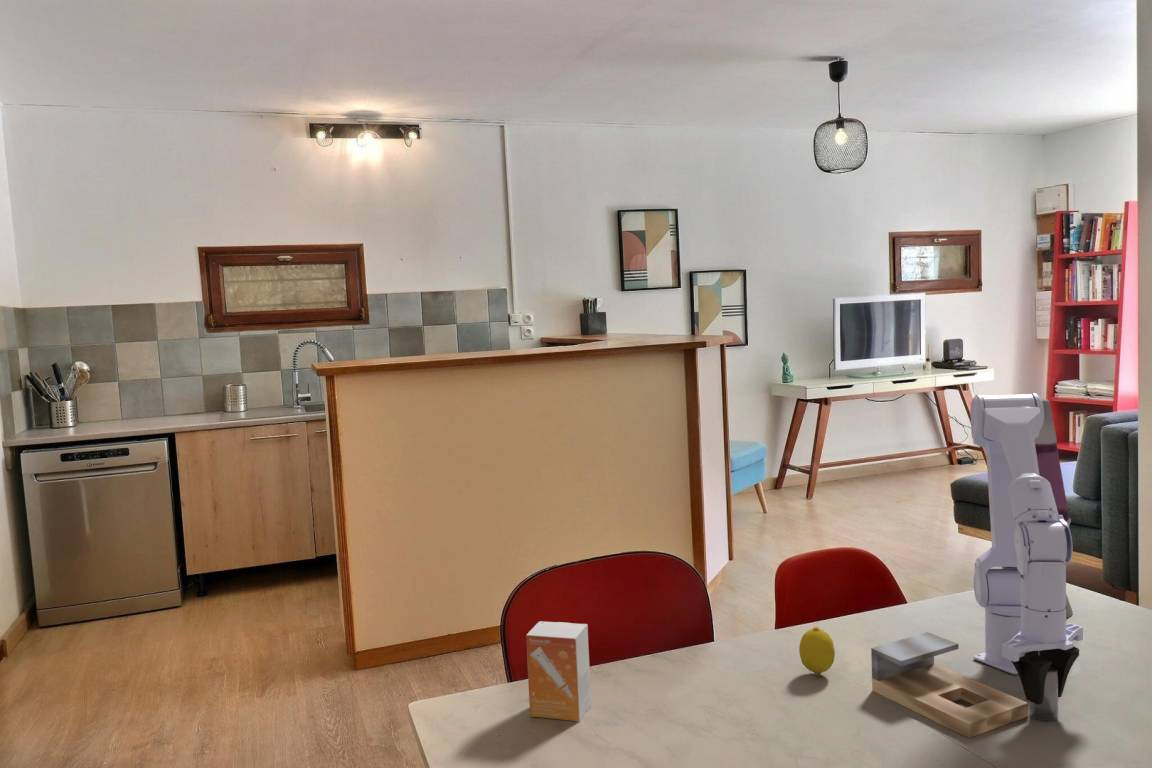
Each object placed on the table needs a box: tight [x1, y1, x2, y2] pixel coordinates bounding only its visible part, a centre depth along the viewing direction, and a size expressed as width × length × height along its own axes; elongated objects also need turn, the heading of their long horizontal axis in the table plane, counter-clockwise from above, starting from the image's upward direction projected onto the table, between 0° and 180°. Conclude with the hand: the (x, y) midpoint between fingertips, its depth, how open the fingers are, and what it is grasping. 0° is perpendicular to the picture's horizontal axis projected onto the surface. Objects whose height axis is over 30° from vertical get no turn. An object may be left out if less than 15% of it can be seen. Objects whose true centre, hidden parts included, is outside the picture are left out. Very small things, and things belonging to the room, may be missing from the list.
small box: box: [525, 620, 592, 723], centre depth 137 cm, size 8×6×13 cm
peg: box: [1029, 665, 1059, 723], centre depth 128 cm, size 4×4×7 cm
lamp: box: [1034, 398, 1073, 619], centre depth 168 cm, size 11×11×40 cm
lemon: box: [798, 626, 836, 676], centre depth 146 cm, size 6×6×8 cm
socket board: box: [870, 631, 1029, 739], centre depth 134 cm, size 12×18×7 cm, turn 26°
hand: (1043, 698), depth 128 cm, fingers closed on peg, 4 cm apart
